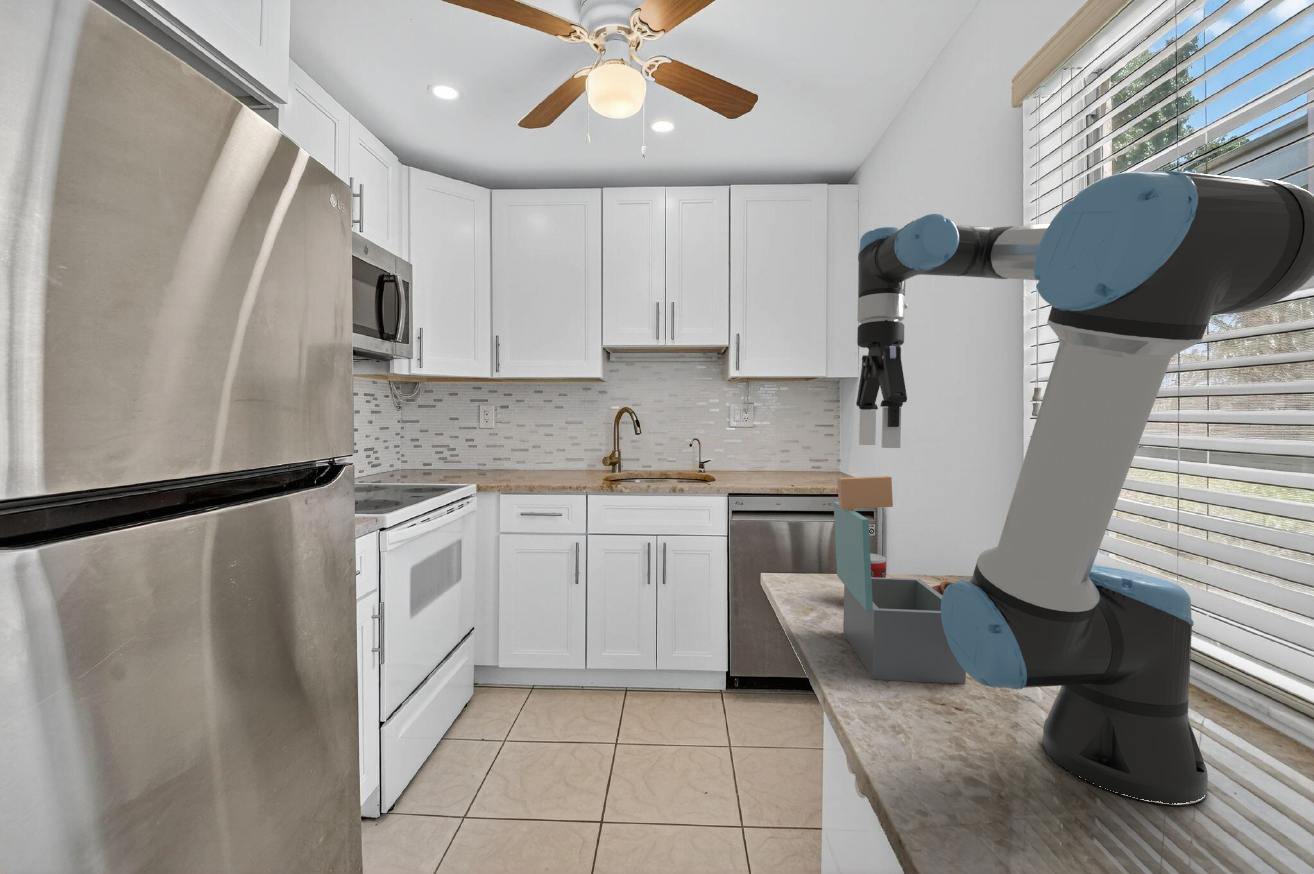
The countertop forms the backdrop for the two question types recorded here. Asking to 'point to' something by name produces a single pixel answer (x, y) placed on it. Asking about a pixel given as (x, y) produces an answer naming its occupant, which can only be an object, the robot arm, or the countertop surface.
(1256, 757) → the countertop surface
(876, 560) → the canned food
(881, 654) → the tub
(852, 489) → the lid
